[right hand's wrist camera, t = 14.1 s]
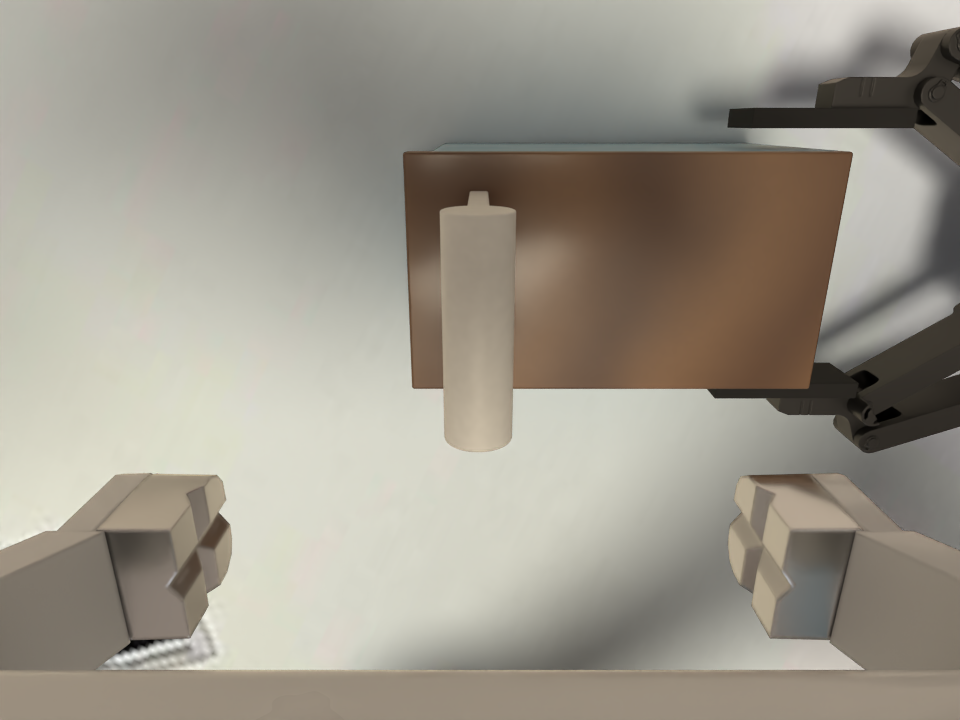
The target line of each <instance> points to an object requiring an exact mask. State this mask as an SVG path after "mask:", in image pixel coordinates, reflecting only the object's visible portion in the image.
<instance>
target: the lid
mask: <svg viewBox="0 0 960 720" xmlns="http://www.w3.org/2000/svg"><path fill="white" fill-rule="evenodd" d="M852 156H853V153H852V152H846V151H407V152H404V154H403V166H404V191H405V216H406V242H407V267H408V293H409V318H410V343H411V369H412V387H413V388H414V389H444V434H445V440H446V441H447V443H448V444H449V445H451V446H452V447H454V448H457V449H460V450H463V451H469V452H487V451H493V450H497V449H500V448H502V447H504V446H506V445H507V444H508V443H509V442H510V441H511V438H512V410H513V389H808V388H809V384H810V379H811V374H812V368H813V363H814V358H815V353H816V347H817V342H818V337H819V331H820V326H821V321H822V315H823V310H824V305H825V299H826V294H827V289H828V284H829V278H830V273H831V268H832V262H833V257H834V252H835V246H836V241H837V236H838V230H839V225H840V220H841V215H842V209H843V204H844V199H845V193H846V188H847V183H848V177H849V172H850V167H851V162H852Z"/></svg>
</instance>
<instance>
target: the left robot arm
mask: <svg viewBox="0 0 960 720" xmlns="http://www.w3.org/2000/svg"><path fill="white" fill-rule="evenodd" d="M910 56H911V60H910V62H909V64H908V66H907V67H906V69H905V70H904V71H903V72H902V73H901V74H900V75H898V76H897V77H847V78H838V79H831V80H829V81H826V82H824V83H821V84H819V86H818V92H817V98H816V104H815V108H743V109H730V111H729V119H728V128H914V129H916V130H917V131H918V132H919V133H920V134H921V135H923V136H924V137H925V138H926V139H927V140H929V141H930V142H931V143H932V144H933V145H935V146H936V147H937V148H938V149H939V150H941V151H942V152H943V153H944V154H945V155H947V156H948V157H949V158H950V159H951V160H953V161H954V162H955V163H956V164H957V165H959V166H960V89H959V88H958V87H956V86H955V85H954V84H953V83H952V82H951V81H952V79H953V80H955V81H957V82H960V27H957V28H952V29H947V30H942V31H937V32H932V33H927V34H923V35H921V36H919V37H918V38H917V39H916V40H915V41H914V43H913V44H912V47H911V50H910ZM959 370H960V303H959V304H958V305H956V306H955V307H954V312H953V314H951V315H950V316H948V317H946V318H944V319H942V320H940V321H939V322H937V323H935V324H933V325H931V326H930V327H928V328H926V329H924V330H922V331H921V332H919V333H917V334H915V335H913V336H911V337H910V338H908V339H906V340H904V341H902V342H901V343H899V344H897V345H895V346H893V347H891V348H890V349H888V350H886V351H884V352H882V353H881V354H879V355H877V356H875V357H873V358H871V359H870V360H868V361H866V362H864V363H862V364H861V365H859V366H857V367H855V368H853V369H851V370H850V371H848V372H846V373H843V372H842V371H840V370H839V369H837V368H836V367H834V366H833V365H832V364H830V363H813V368H812V374H811V379H810V384H809V388H808V389H708V391H709V392H710V393H711V394H712V395H713V397H714V398H766V400H768V401H769V402H770V403H771V404H772V405H773V406H774V407H775V408H776V409H777V410H778V411H780V412H782V413H785V414H787V415H799V414H800V415H808V414H809V415H836V416H835V418H834V420H833V424H834V426H835V428H836V429H837V430H838V431H840V432H841V433H842V434H843V435H844V436H845V437H846V438H848V439H849V440H850V441H851V442H852V443H853V444H855V445H856V446H857V447H858V448H859V449H861V450H862V451H863V452H866V453H873V452H877V451H880V450H883V449H887V448H890V447H893V446H897V445H900V444H903V443H907V442H910V441H913V440H917V439H920V438H923V437H927V436H930V435H933V434H937V433H940V432H943V431H947V430H950V429H953V428H957V427H960V374H959V375H955V376H952V377H949V378H946V377H948V376H950V375H952V374H953V373H955V372H957V371H959ZM944 378H946V379H944ZM942 379H943V380H942Z"/></svg>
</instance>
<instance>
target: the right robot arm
mask: <svg viewBox="0 0 960 720" xmlns="http://www.w3.org/2000/svg"><path fill="white" fill-rule="evenodd" d="M225 501H226V496H225V491H224V486H223V481H222V480H221V479H220V478H219V477H218V476H217V475H194V474H151V473H136V474H119V475H115V476H114V477H113V478H112V479H111V480H110V481H109V482H108V483H107V484H106V485H105V486H103V487H102V488H101V489H100V490H99V491H98V492H97V493H96V494H95V495H94V496H93V497H92V498H91V499H90V500H89V501H88V502H87V503H86V504H85V505H84V506H82V507H81V508H80V509H79V510H78V511H77V512H76V513H75V514H74V515H73V516H72V517H71V518H70V519H69V520H68V521H67V522H66V523H65V524H64V525H63V526H61V527H60V528H59V529H58V530H57V531H45V532H43V533H40V534H38V535H36V536H33V537H31V538H28V539H26V540H24V541H21V542H19V543H17V544H14V545H12V546H10V547H7V548H5V549H2V550H0V720H960V550H957V549H955V548H953V547H950V546H948V545H946V544H943V543H941V542H939V541H936V540H934V539H931V538H929V537H927V536H924V535H922V534H920V533H917V532H915V531H903V530H902V529H901V528H900V527H899V526H898V525H896V524H895V523H894V522H893V521H892V520H891V519H890V518H889V517H888V516H887V515H886V514H885V513H884V512H883V511H882V510H881V509H880V508H879V507H878V506H877V505H876V504H875V503H873V502H872V501H871V500H870V499H869V498H868V497H867V496H866V495H865V494H864V493H863V492H862V491H861V490H860V489H859V488H858V487H857V486H856V485H855V484H854V483H853V482H851V481H850V480H849V479H848V478H847V477H846V476H845V475H842V474H839V473H824V474H784V475H747V476H740V478H739V481H738V483H737V485H736V490H735V496H734V501H735V503H736V504H737V506H738V507H739V509H740V510H741V513H740V515H739V516H738V517H737V518H736V519H735V520H734V521H733V522H732V523H731V524H730V528H729V537H728V551H729V561H730V564H731V567H732V570H733V573H734V575H735V577H736V579H737V581H738V583H739V585H741V586H742V587H744V588H745V589H747V590H748V591H750V592H752V593H753V598H752V604H751V606H752V608H753V610H754V611H755V613H756V615H757V617H758V618H759V620H760V622H761V624H762V625H763V627H764V629H765V630H766V632H767V634H768V636H769V637H770V638H776V639H813V640H830V643H831V644H832V645H833V646H835V647H836V648H837V649H839V650H840V651H841V652H843V653H844V654H845V655H847V656H848V657H849V658H850V659H852V660H853V661H854V662H856V663H857V664H858V665H860V666H861V667H862V668H864V669H865V670H95V669H97V668H98V667H99V666H101V665H102V664H103V663H105V662H106V661H107V660H108V659H110V658H111V657H112V656H114V655H115V654H116V653H118V652H119V651H120V650H122V649H123V648H124V647H125V646H127V645H128V644H129V643H130V640H146V639H182V638H191V636H192V634H193V632H194V631H195V629H196V627H197V625H198V624H199V622H200V620H201V618H202V617H203V615H204V613H205V611H206V610H207V608H208V606H209V604H208V598H207V593H208V592H210V591H212V590H213V589H215V588H216V587H218V586H219V585H221V583H222V581H223V579H224V577H225V575H226V573H227V571H228V567H229V563H230V558H231V554H232V535H231V528H230V524H229V523H228V522H227V521H226V520H225V519H224V518H223V517H222V516H221V515H220V513H219V510H220V509H221V507H222V506H223V504H224V503H225Z"/></svg>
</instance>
